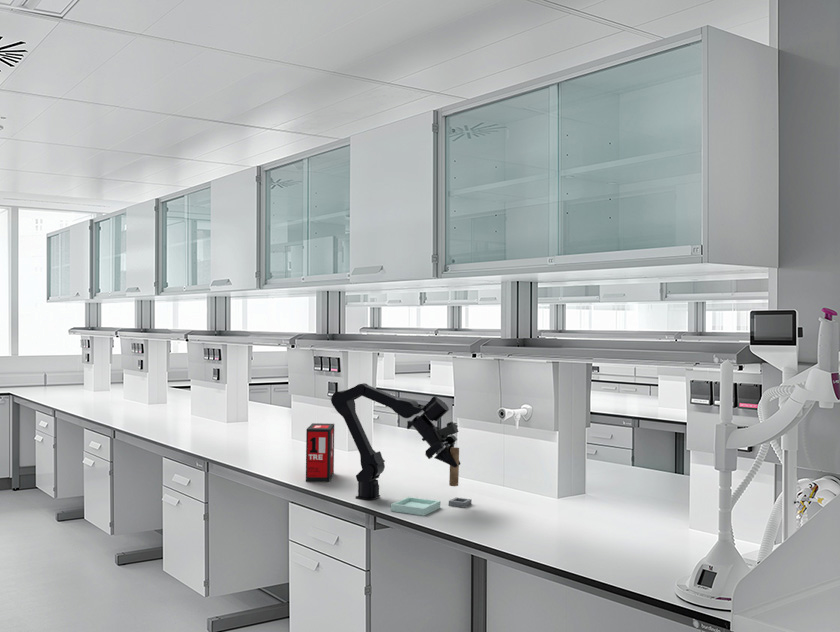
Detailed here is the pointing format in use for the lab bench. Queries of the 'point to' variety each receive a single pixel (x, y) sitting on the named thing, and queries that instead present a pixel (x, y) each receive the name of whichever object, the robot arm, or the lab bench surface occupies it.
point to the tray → (415, 506)
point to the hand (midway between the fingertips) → (458, 465)
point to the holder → (460, 502)
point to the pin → (454, 471)
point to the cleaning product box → (319, 452)
